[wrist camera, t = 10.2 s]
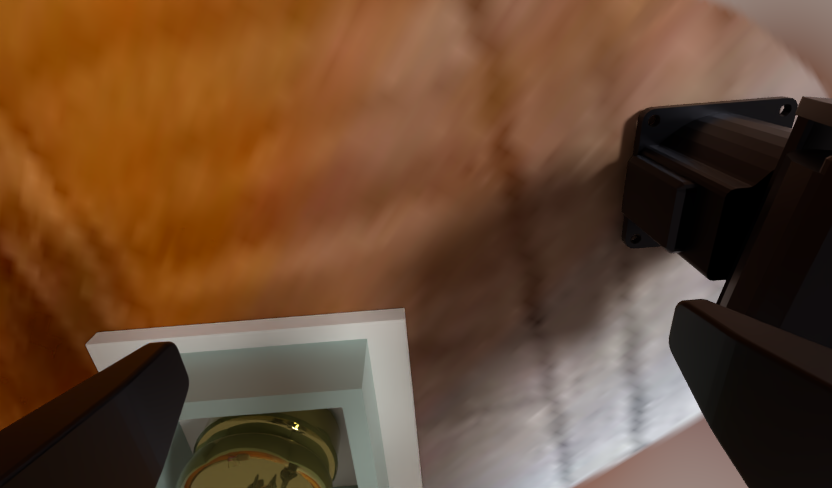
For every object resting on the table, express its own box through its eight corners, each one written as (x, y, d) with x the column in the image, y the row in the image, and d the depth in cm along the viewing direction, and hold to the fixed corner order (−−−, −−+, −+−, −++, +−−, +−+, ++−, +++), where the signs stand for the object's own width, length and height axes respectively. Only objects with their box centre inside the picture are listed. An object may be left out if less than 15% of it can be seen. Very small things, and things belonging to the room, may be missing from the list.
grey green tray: (404, 307, 23) (405, 367, 19) (422, 486, 29) (426, 560, 25) (97, 332, 23) (33, 396, 19) (178, 505, 30) (144, 581, 25)
